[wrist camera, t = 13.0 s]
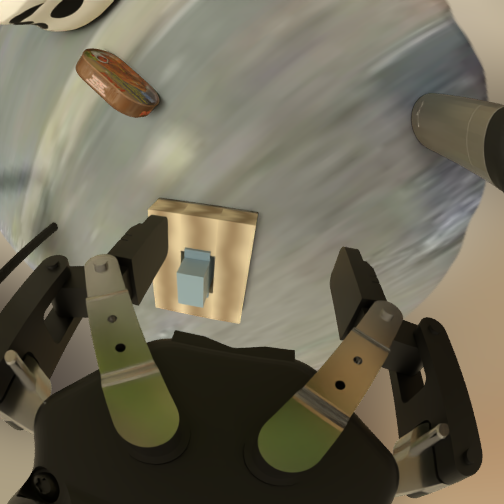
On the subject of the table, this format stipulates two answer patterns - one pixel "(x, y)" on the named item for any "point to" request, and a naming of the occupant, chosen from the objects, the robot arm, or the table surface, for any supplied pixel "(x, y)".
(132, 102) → the tin
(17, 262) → the solar garden light
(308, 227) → the table surface
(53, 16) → the milk container
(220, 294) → the block
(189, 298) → the grey-blue stepped block
